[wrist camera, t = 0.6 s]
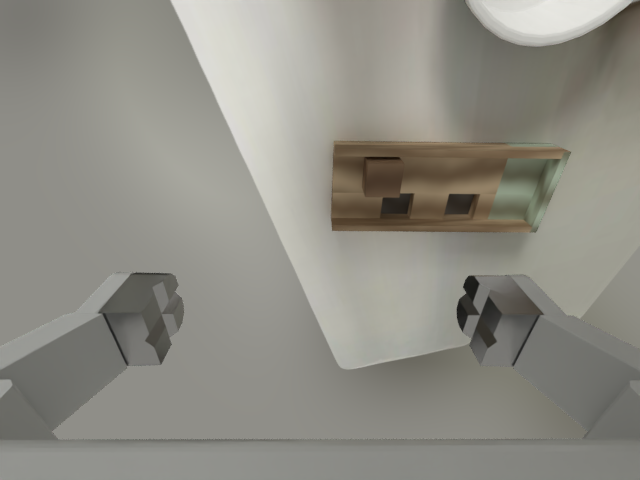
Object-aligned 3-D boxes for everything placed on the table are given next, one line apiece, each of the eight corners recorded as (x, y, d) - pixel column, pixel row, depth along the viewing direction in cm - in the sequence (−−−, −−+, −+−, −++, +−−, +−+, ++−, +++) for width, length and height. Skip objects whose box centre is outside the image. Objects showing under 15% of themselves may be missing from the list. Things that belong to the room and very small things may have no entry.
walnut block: (364, 155, 46) (368, 163, 42) (398, 155, 46) (404, 163, 42) (361, 186, 48) (365, 197, 45) (393, 187, 48) (399, 197, 45)
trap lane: (333, 141, 47) (335, 149, 43) (550, 143, 47) (571, 151, 43) (331, 217, 53) (332, 230, 49) (520, 219, 54) (536, 232, 50)
